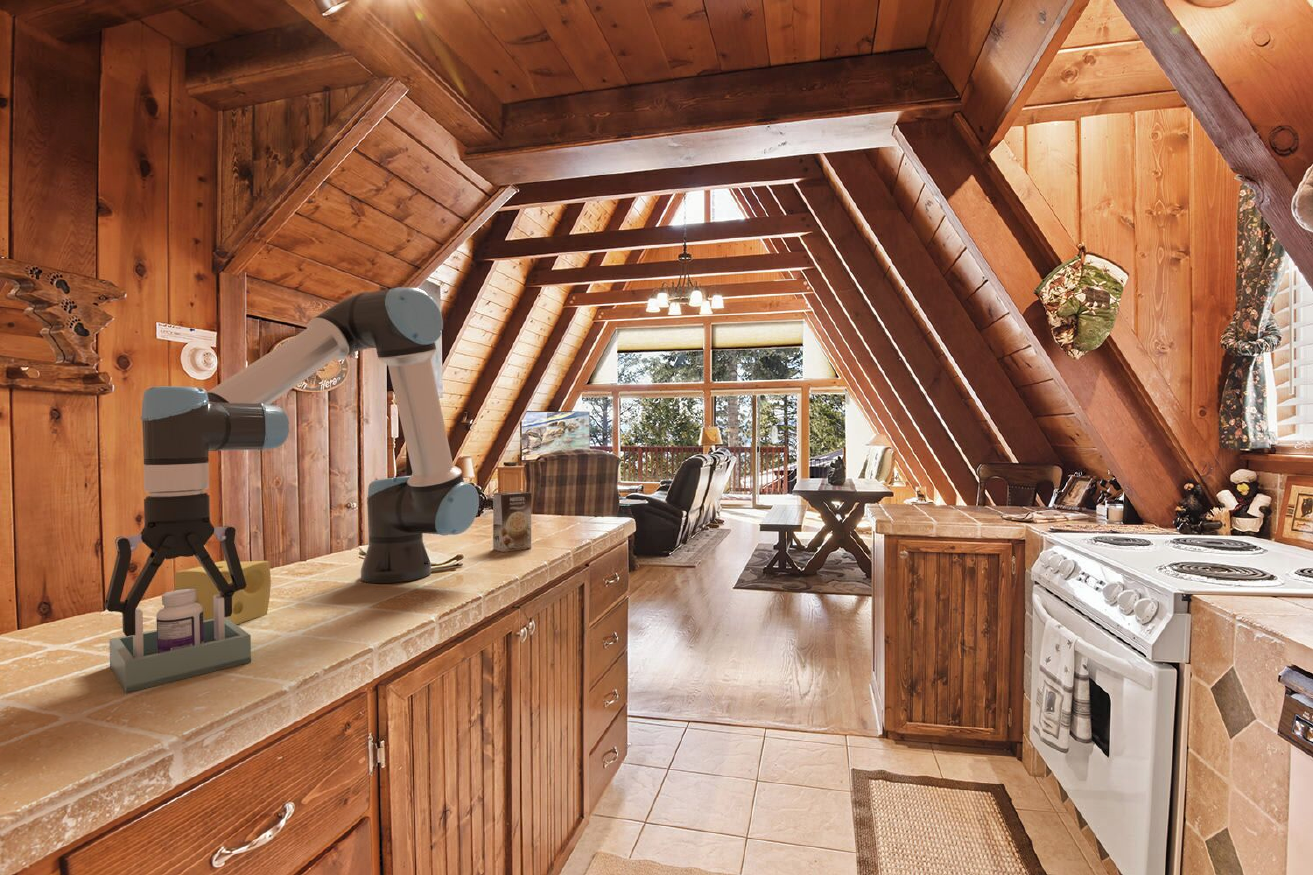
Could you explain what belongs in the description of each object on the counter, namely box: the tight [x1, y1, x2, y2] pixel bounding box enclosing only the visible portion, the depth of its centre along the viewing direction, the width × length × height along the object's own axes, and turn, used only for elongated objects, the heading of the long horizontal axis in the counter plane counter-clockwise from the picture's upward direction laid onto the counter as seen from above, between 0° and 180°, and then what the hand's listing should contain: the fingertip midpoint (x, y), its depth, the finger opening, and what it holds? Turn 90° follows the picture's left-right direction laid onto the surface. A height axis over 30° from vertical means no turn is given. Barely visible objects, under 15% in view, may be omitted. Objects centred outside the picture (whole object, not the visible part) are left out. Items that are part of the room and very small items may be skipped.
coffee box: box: [492, 491, 532, 553], centre depth 176 cm, size 9×6×16 cm
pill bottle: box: [155, 589, 204, 653], centre depth 90 cm, size 5×5×10 cm
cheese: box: [174, 560, 272, 626], centre depth 111 cm, size 10×11×10 cm
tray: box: [108, 617, 252, 694], centre depth 90 cm, size 14×14×4 cm
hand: (180, 647), depth 90 cm, fingers open, 9 cm apart
